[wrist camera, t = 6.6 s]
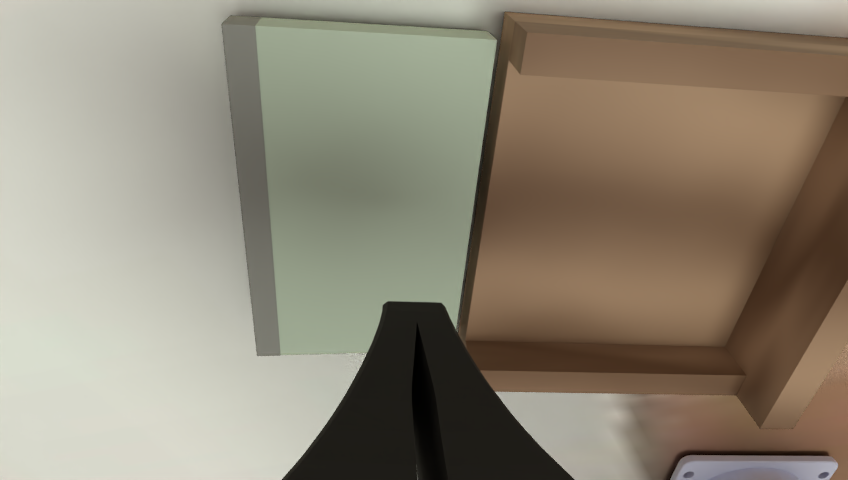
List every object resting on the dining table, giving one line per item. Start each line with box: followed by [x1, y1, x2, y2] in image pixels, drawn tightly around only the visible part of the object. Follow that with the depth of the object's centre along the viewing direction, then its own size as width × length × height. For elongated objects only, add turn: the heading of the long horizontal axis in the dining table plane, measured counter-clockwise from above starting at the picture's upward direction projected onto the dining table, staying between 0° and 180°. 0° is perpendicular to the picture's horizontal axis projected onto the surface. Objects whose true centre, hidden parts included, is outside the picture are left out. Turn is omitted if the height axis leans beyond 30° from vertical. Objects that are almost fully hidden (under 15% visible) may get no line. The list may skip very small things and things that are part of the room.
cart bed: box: [458, 12, 848, 429], centre depth 17 cm, size 12×11×4 cm
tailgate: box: [222, 15, 497, 356], centre depth 17 cm, size 11×1×7 cm
